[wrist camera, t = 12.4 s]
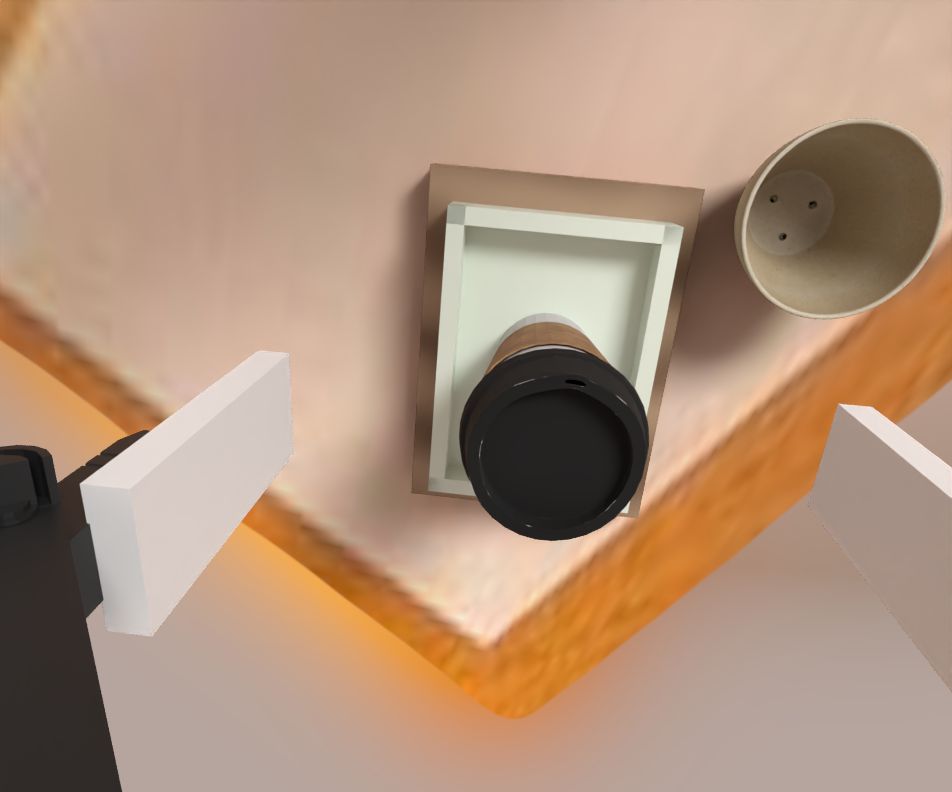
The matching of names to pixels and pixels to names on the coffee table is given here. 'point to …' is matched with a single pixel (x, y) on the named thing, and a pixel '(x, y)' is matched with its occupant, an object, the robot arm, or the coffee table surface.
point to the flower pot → (840, 218)
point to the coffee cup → (553, 433)
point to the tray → (544, 300)
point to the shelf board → (549, 196)
